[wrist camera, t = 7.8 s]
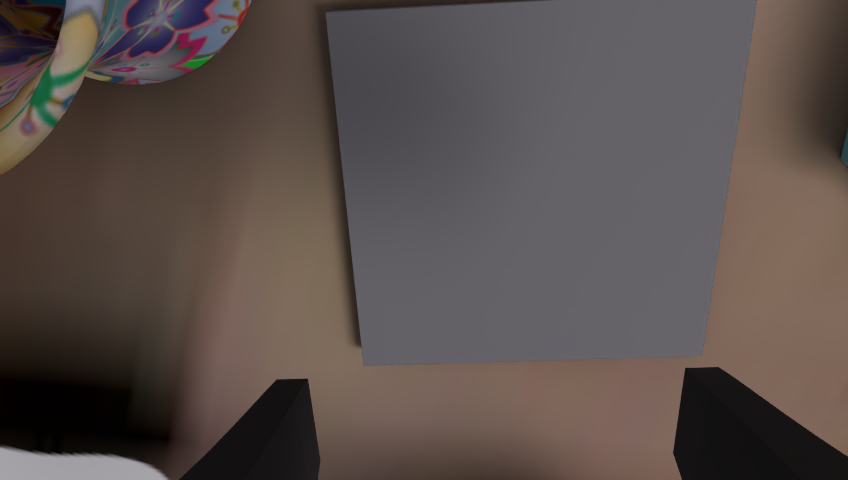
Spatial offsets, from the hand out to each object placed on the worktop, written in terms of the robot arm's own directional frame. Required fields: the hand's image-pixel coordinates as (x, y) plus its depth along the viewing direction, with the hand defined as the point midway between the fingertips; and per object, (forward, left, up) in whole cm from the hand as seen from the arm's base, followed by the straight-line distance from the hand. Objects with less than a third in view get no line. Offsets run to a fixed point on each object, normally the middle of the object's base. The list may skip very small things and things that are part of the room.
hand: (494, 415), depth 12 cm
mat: (+1, -2, -10) cm, 10 cm away
